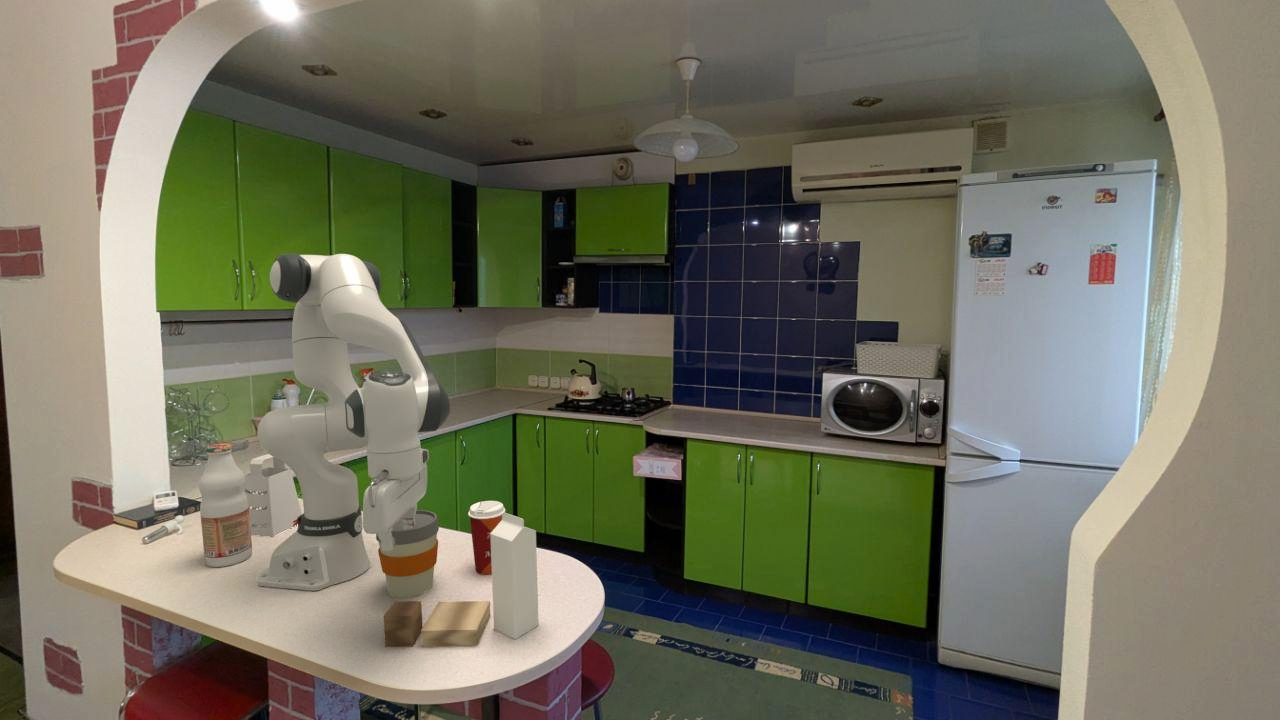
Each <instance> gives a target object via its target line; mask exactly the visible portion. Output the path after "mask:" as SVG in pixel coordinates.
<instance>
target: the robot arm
mask: <svg viewBox="0 0 1280 720" xmlns="http://www.w3.org/2000/svg"><path fill="white" fill-rule="evenodd" d="M272 263H273V264H272V266H271V269H270V270H269V282H270V286H271V288H272V292H273V294H274V296H276V297H277V298H278V299H279V300H281V301H284V302H288V303H292V304H295V307H294V309H293V310H294V311H293V317H292V324H291V325H292V328H291V343H292V344H291V345H292V358H293V359H292V361H293V374H294V377H295V379H296V380H297V381H298V382H299V383H301V384H302V385H303V386H305V387H308V388H311V389H313V390H317V391H320V392H321V393H322V394H324V395H326V396H327V398H328V401H327V402H324V403H314V404H313V403H311V404H300V405H289V406H286V407H282V408H279V409H275V410H271V411H268V412H267V413H266V414H264V416H263V417H262V418H261V420H260V422H259V424H258V426H257V441H258V443H259V444H260V447H261V448H262V450H264V451H265V453H267V454H270V455H271V456H274V457H276V458H278V459H279V460H281V461H282V462H284V463H285V466H288V468H289V469H291V472H293V474H294V475H295V476H296V478H297V480H298V483H299V486H300V490H301V497H302V505H303V513H302V515H300V516H299V517H297V519H296V520H295V521H293V522H292V523H294V522H295V523H294V524H293V528H295V527H296V526H295V525H297V524H298V526H297V530H296V531H295V532H294V533H292V534H291V535H290V536H289V537H288V538H286V539H285V540H284V541H283V542H281V544H279V545H278V546H277V547H276V548H275V549H274V551H273V552H272V553H271V556H270V560H269V561H270V562H269V566H268V567H267V568H266V569H265V570H264V571H262V573H261V574H260V575H259V577H258V579H257V580H258V581H257V585H258V586H260V587H271V588H280V589H289V590H302V591H311V592H313V591H320V590H323V589H325V588H327V587H330V586H332V585H336V584H339V583H340V584H341V583H343V582H346V581H349V580H352V579H354V578H356V577H358V576H360V575H362V574H363V573H364V572H366V571H367V570H368V569H369V568H370V566H371V561H370V558H369V556H368V554H367V550H366V547H365V543H364V539H363V532H362V531H364V532H365V533H366V534H369V535H371V534H372V535H376V534H377V535H378V537H379V539H380V541H381V546H382V550H383V551H391V550H392V549H393V548H394V547H395V538H393V537H392V533H391V532H392V530H393V529H392V526H393V525H394V524H395V523H396V522H397V521H399V520H400V519H401V518H402V517H403V516H404V519H403V520H402V521H403V528H404V529H411V528H413V527H414V526H415V515H416V510H418V503H419V501H420V500H422V499H423V497H424V496H425V495H426V493H427V489H428V488H427V487H428V465H427V462H428V461H429V458H430V454H429V453H430V451H429V450H428V449H426V448H421V440H420V438H419V433H428V432H430V433H431V432H436V431H437V430H438V429H439V428H441V427H442V426H443V425H444V423H445V422H446V421H447V419H448V418H449V416H450V412H451V403H450V400H449V399H450V398H449V396H448V393H447V391H446V390H445V388H444V387H443V385H442V383H441V382H440V381H439V380H438V379H437V377H436V376H435V374H434V372H433V371H432V369H431V366H430V365H429V363H428V362H427V361H428V360H427V359H426V358H425V355H424V354H423V352H422V349H421V348H420V346H419V344H418V342H417V341H416V338H415V337H414V335H413V334H412V332H411V330H410V328H409V326H408V325H407V323H406V322H405V321H404V320H403V318H400V317H398V316H395V314H393V313H392V312H391V311H390V310H389V309H388V308H387V307H386V306H385V304H383V303H382V301H381V298H380V294H381V290H382V289H381V288H382V277H381V273H380V271H379V269H378V268H377V266H376V265H375V264H373V263H372V262H368V261H366V260H362V259H360V258H359V257H357V256H356V255H352V254H349V253H348V254H347V253H336V254H333V255H320V254H299V253H298V252H297V253H296V252H293V253H283V254H280V255H279V256H278V257H277V258H275V259H274V260H273V262H272ZM348 343H349V344H352V345H356V346H363V347H369V348H372V349H376V350H379V351H382V352H385V353H387V354H389V355H391V356H392V357H394V358H395V359H396V361H397V362H398V364H399V367H400V368H401V370H402V371H398V370H397V371H396V370H384V371H381V370H380V371H377V372H375V373H371V374H370V375H368V376H367V377H366V378H365V384H364V386H363V387H359V385H358V383H357V382H356V380H355V379H354V377H353V373H352V370H351V365H350V358H349V351H348V350H349V349H348ZM362 448H366V457H367V459H366V461H367V471H368V472H367V473H368V474H367V475H368V477H369V478H370V479H371V480H370V485H369V486H368V487H367V488H366V489H365V490H364V493H363V498H362V499H363V502H362V507H361V505H359V488H358V487H359V486H358V485H359V484H358V477H357V476H356V474H355V472H353V470H352V469H350V468H348V467H346V466H343V465H340V464H337V463H333V462H331V461H330V460H329V461H328V460H327V459H326V458H325V454H326V453H327V454H328V453H332V452H338V451H339V452H341V451H347V450H348V451H349V450H355V449H357V450H358V449H362ZM294 526H295V527H294Z"/></svg>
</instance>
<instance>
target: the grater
mask: <svg viewBox="0 0 1280 720" xmlns="http://www.w3.org/2000/svg"><path fill="white" fill-rule="evenodd" d="M270 458H271V459H272V463H273V465H272V466H273V467H271V466H269V467H265V468H263V466H262V465H263V463H264V461H265V460H267V459H270ZM249 468H250V470H249V472H250V473H247V474H244V475H245V480H246V481H245V486H244V492H245V494H246V495H247V499H248V505H249V518H250V530H251V536H253V535H260V536H259V537H264V536H270V537H269V538H275V537H276V536H275V535H277V534H279V533H281V532H283V531H285V530H287V529H289V528H291V527H293V524H294V523H295V522H294V523H292V522H293V521H295V520H296V519H297V517H299V516H300V515H302V514H303V512H302V508H301V505H300V501H299V497H298V494H297V493H298V492H297V490H296V485H295V480H294V478H293V473H292V470H291V468H286V464H285V463H284V462H282V461H281V460H279V459H278V458H276V457H274V456H271V455H270V454H268V453H267V454H263V455H260V456H257V457H255V458H252V459H251V461H250V462H249ZM258 525H259V526H265V525H266V526H265V527H259V526H258ZM256 526H257V527H256ZM293 528H294V527H293ZM291 529H292V528H291ZM289 530H290V529H289ZM287 531H288V530H287ZM285 532H286V531H285ZM283 533H284V532H283ZM281 534H282V533H281ZM279 535H280V534H279ZM274 536H275V537H274ZM277 536H278V535H277Z"/></svg>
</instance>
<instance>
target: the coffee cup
mask: <svg viewBox="0 0 1280 720" xmlns="http://www.w3.org/2000/svg"><path fill="white" fill-rule="evenodd" d="M503 512H504V513H506V508H505V507H504V504H503V503H502V502H500V501H497V500H485V501H479V502H476V503H474V504H472V505H470V508H469V510H468V513H467V515H468V516H469V521H470V531H471V540H472V550H473V559H474V560H473V561H474V568H475V569H474V570H475V572H476V573H477V574H478V575H483V576H489V575H491V576H492V564H491V537H490V533H491V532H492V531H493V530H494V529H495V528H496V526H497V525H498V524H499V523H500V522H501V521H502V513H503Z"/></svg>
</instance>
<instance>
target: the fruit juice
mask: <svg viewBox="0 0 1280 720" xmlns="http://www.w3.org/2000/svg"><path fill="white" fill-rule="evenodd" d="M205 452H206V455H208V458H207V460H206V464H205V467H204V470H203V474H202V475H201V477H200V478H199V479H198V490H199V492H200V495H201V502H200V506H199V507H200V508H199V514H200V524H201V533H202V544H203V552H204V553H203V555H204V561H205V564H206V565H207V566H208V567H211V568H221V567H223V568H224V567H229V566H233V565H236V564H240V563H242V562H244V561H246V560H247V559H250V557H251V556H252V553H253V543H252V535H251V530H250V526H251V524H250V518H249V505H248V499H247V495H246V494H245V492H244V486H245V481H246V480H245V475H246V474H244V472H243V471H242V469H240V468H239V466H238V465H237V463H236V461H235V459H234V456H233V455H232V452H233V445H232V443H227V442H226V443H223V442H222V443H215V444H211V445H208V446H207V447H206V451H205Z"/></svg>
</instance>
